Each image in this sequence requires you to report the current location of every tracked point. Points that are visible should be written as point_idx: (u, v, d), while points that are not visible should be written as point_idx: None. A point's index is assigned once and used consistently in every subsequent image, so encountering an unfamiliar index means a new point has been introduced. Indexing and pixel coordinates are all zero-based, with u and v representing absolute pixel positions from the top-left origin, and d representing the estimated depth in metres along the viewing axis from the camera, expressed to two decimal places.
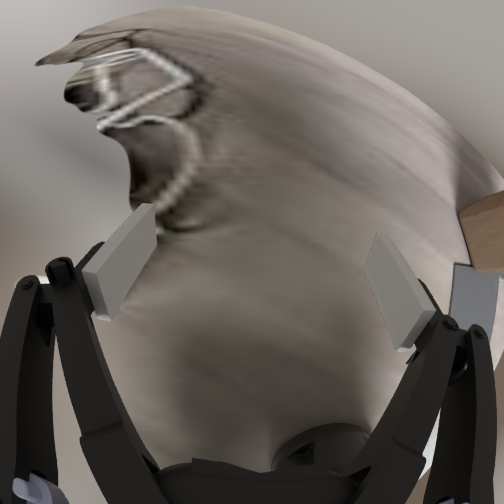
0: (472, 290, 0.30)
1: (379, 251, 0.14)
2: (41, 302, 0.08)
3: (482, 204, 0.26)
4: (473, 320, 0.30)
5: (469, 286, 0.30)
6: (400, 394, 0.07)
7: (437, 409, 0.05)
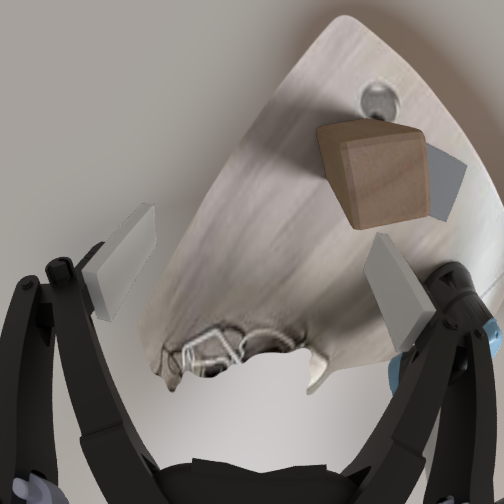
0: None
1: (379, 251, 0.14)
2: (41, 302, 0.08)
3: (332, 188, 0.39)
4: None
5: None
6: (400, 394, 0.07)
7: (437, 409, 0.05)
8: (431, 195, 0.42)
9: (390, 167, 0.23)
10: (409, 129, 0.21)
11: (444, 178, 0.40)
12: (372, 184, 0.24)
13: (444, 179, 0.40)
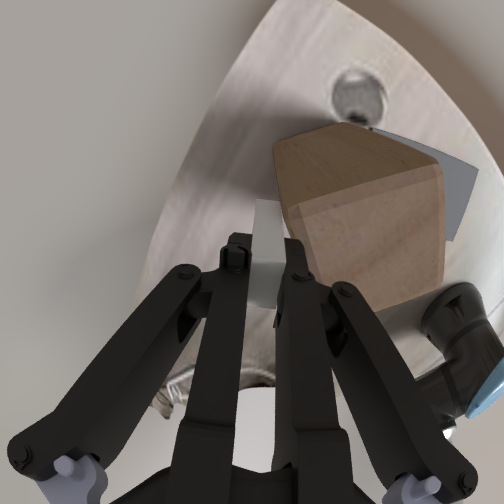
0: None
1: None
2: (207, 291, 0.10)
3: None
4: None
5: None
6: (280, 369, 0.08)
7: (329, 372, 0.07)
8: None
9: (381, 235, 0.14)
10: (416, 160, 0.12)
11: (451, 189, 0.31)
12: (351, 266, 0.15)
13: (451, 190, 0.31)
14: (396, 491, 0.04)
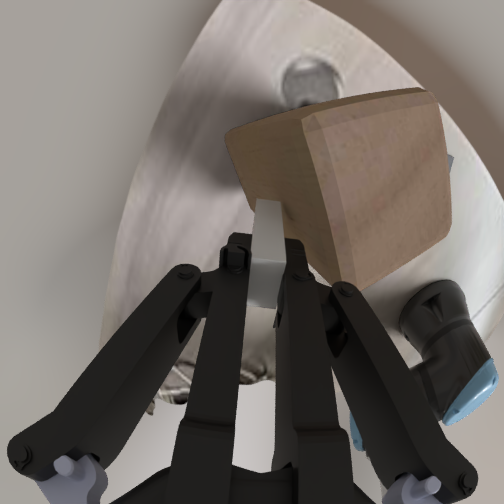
0: None
1: None
2: (207, 291, 0.10)
3: None
4: None
5: None
6: (281, 369, 0.08)
7: (329, 372, 0.07)
8: None
9: (400, 160, 0.11)
10: (412, 88, 0.11)
11: None
12: (375, 200, 0.12)
13: None
14: (396, 491, 0.04)
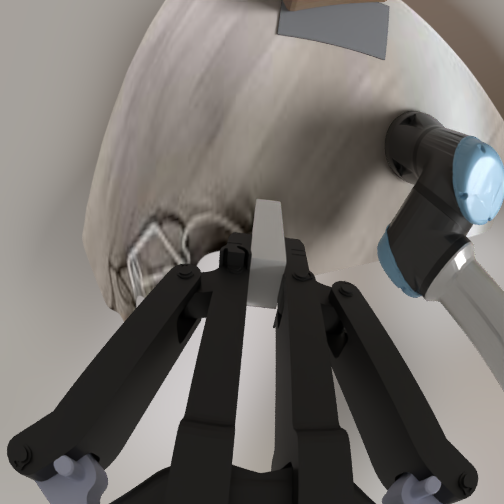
0: (300, 15, 0.32)
1: None
2: (207, 291, 0.10)
3: None
4: (327, 14, 0.31)
5: (296, 18, 0.33)
6: (281, 369, 0.08)
7: (329, 372, 0.07)
8: (354, 31, 0.33)
9: None
10: None
11: (365, 16, 0.31)
12: None
13: (365, 16, 0.31)
14: (396, 491, 0.04)
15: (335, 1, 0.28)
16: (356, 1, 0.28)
